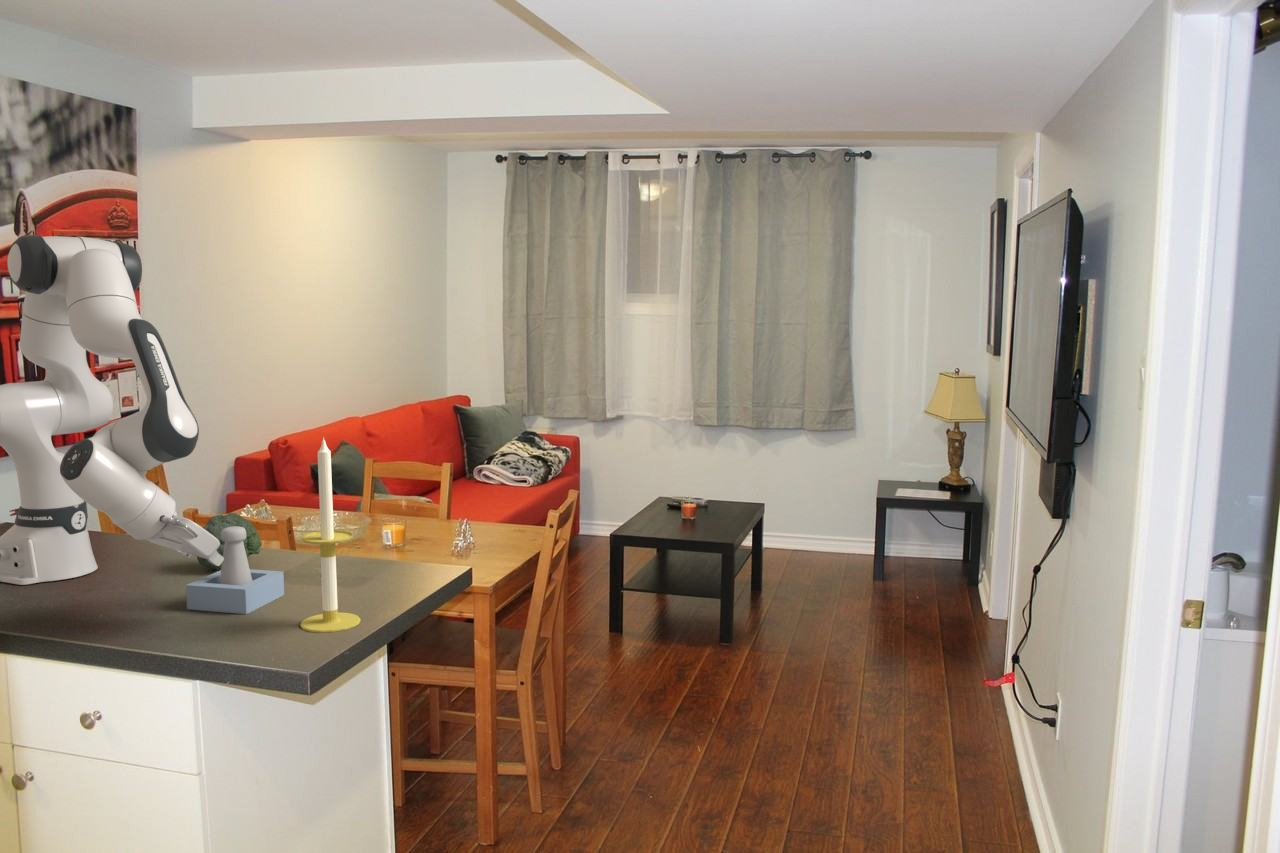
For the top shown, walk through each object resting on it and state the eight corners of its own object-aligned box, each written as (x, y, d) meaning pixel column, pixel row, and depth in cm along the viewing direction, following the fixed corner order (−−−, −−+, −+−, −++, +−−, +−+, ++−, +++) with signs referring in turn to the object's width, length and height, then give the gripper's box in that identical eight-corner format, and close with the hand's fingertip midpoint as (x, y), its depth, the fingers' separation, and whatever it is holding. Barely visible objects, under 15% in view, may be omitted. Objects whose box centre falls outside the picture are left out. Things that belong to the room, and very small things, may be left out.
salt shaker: (218, 594, 191) (215, 525, 189) (251, 590, 193) (248, 522, 191) (221, 603, 185) (217, 532, 184) (255, 598, 188) (251, 529, 186)
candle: (287, 627, 175) (279, 438, 171) (327, 611, 184) (320, 431, 180) (334, 635, 171) (326, 442, 167) (372, 618, 180) (366, 434, 176)
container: (187, 609, 185) (185, 585, 184) (228, 590, 197) (226, 567, 196) (246, 614, 182) (245, 589, 182) (284, 594, 194) (283, 571, 193)
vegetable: (285, 549, 220) (256, 533, 206) (241, 593, 217) (208, 581, 203) (249, 512, 223) (218, 494, 209) (204, 556, 220) (170, 541, 206)
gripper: (191, 506, 170) (248, 552, 179) (130, 491, 182) (186, 535, 191) (167, 537, 167) (226, 582, 176) (106, 520, 179) (164, 563, 188)
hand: (205, 558), depth 184 cm, fingers open, 8 cm apart
